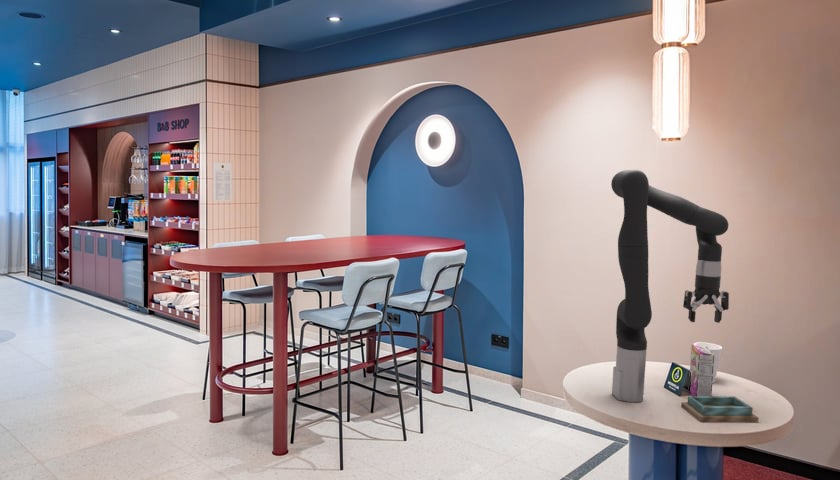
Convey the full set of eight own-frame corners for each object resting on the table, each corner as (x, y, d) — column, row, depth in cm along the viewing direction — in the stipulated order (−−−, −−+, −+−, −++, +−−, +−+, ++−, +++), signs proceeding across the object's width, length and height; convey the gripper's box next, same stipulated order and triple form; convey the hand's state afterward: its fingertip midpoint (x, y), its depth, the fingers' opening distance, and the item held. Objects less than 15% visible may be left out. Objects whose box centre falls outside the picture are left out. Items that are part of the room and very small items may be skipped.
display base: (700, 421, 181) (701, 409, 180) (681, 406, 193) (682, 394, 192) (758, 422, 182) (759, 409, 181) (735, 407, 194) (736, 395, 193)
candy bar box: (687, 390, 209) (690, 344, 207) (702, 391, 208) (706, 345, 206) (695, 401, 198) (698, 353, 196) (711, 403, 197) (715, 354, 195)
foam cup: (686, 379, 220) (689, 345, 218) (696, 374, 226) (699, 340, 225) (713, 386, 213) (716, 350, 212) (723, 381, 219) (726, 346, 218)
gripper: (693, 275, 194) (689, 324, 196) (735, 276, 195) (731, 325, 197) (681, 271, 202) (678, 319, 203) (722, 272, 203) (719, 319, 204)
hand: (704, 322), depth 200 cm, fingers open, 8 cm apart
